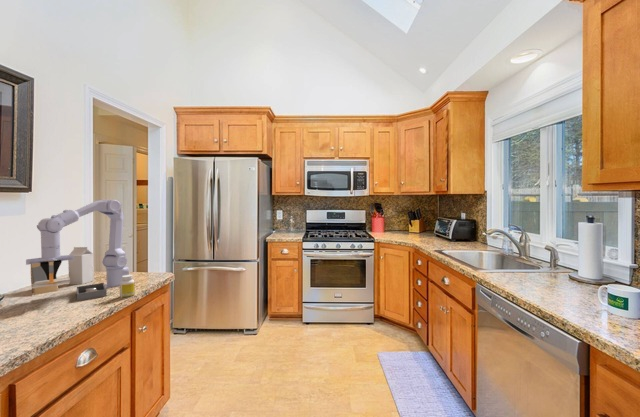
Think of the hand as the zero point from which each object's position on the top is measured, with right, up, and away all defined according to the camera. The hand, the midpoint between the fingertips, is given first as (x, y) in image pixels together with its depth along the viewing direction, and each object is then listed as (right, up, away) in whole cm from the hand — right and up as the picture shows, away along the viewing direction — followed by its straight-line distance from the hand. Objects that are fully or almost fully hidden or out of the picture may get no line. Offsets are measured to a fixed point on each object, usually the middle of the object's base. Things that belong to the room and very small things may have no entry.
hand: (51, 279), depth 119 cm
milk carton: (-14, -10, +31) cm, 35 cm away
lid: (-2, -3, +2) cm, 4 cm away
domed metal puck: (+6, -10, +13) cm, 17 cm away
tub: (+8, -10, +10) cm, 17 cm away
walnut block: (+10, -10, +8) cm, 16 cm away
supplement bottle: (+27, -10, +8) cm, 30 cm away
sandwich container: (-20, -11, +18) cm, 29 cm away
